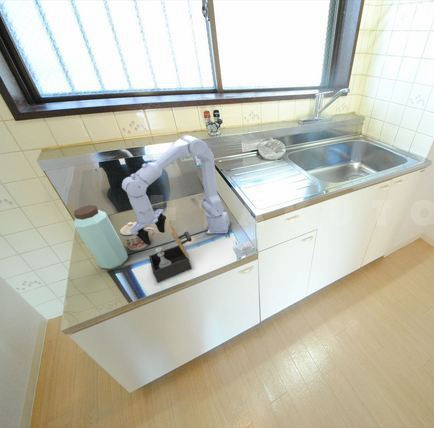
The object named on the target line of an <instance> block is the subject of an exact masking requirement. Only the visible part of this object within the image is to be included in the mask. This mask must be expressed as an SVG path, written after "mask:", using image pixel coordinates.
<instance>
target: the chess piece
mask: <svg viewBox="0 0 434 428" xmlns="http://www.w3.org/2000/svg"><path fill="white" fill-rule="evenodd" d="M162 251H163V247H157V248H155V253H158V254H157V256H158V257H160V259H161V261H160V264H159V268H163V267H165V266H168V265H170V264H172V263H171V261H169V260H167V259H165V257H164V256H163V255H164V252H162Z"/></svg>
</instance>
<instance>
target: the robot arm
mask: <svg viewBox="0 0 434 428" xmlns="http://www.w3.org/2000/svg"><path fill="white" fill-rule="evenodd" d="M192 155H193V156H194V157H196V158H198V159H199V160H200V167H201V168H200V169H201V177H202V185H203V192H204V194H202V201H201V203H200V204H201V208H202V209H203V210H204V211H205V217H206V221H207V225H208V229H207V231H206V233H207V234H208V235H210V234H211V235H215V234H228V233H229V229H230V225H231V221H230V217H229V212H227V211H224V210H225V208H224V205H223V204H222V200H221V198H220V196H219V193H218V185H217V174H216V164H215V155H214V153H213V152H212V149H210V147H209V145H208V143H207V142H205V141H204V140H202V139H200V138H197V137H194V136H192V134H191V135H190V134H184V135H182V137H180V138H179V139H176V140H175V142H174V144H172V146H171V147H169V148H168V149H167V150H166V151H165V152H164V153H163V154H162V155H161V156H160V157H158V158H157V160H156V161H153V162H151V161H148V162H147V163H146V162H145V163H143V164H141V168H140V169H138V170H137V171H136V172H135V173H131V174H130V176H127V177H125V178H123V180H122V183H121V189H122V190H123V191H125V192H126V194H127V198H128V199H129V203H130V205H131V208H132V210H133V212H134V214H135V216H136V219H137V221H136V222H137V223H136V224H135V225H134V226H133V228H131V229H130V232H131V234H134V235H136V236H137V237H139V238H140V239H141V240H142V241H143V242H144V243H145V244H147V245H148V246H151V245H152V242H151V239H150V238H149V230H146V231H145V230H143V228H144V227H145V228H147V227H148V226H150V225H151V224H155V226H156V228H157V231H158V232H159V233H161V234H164V233H166V227H165V226H166V225H165V224H166V220H165V219H167V216H166V215H165V210H164V209H163V208H158V209H156V210H154V209H153V205H152V204H151V201H150V198H149V196H148V195H147V189H148V187H149V186H151V185H152V183H154V182H155V181H156V180H158V179H159V178H161V176H163V170H164V169H165V168H167V167H168V166H170V165H171V164H172V163H174V162H175V161H176V160H177V159H179V158H181V157H191V156H192Z"/></svg>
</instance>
